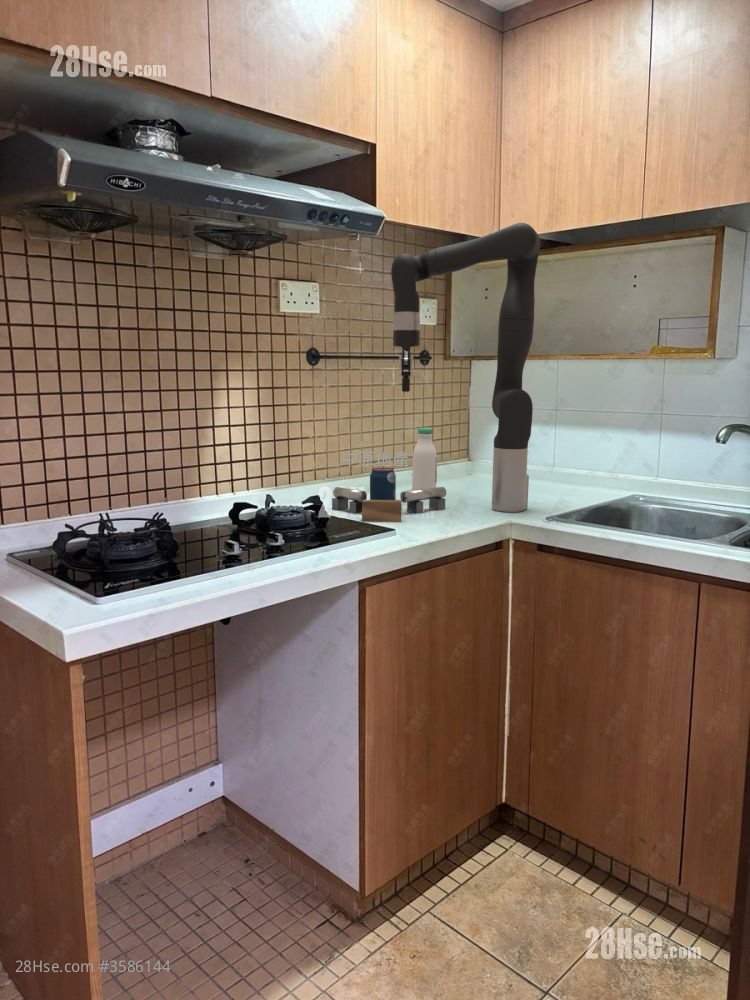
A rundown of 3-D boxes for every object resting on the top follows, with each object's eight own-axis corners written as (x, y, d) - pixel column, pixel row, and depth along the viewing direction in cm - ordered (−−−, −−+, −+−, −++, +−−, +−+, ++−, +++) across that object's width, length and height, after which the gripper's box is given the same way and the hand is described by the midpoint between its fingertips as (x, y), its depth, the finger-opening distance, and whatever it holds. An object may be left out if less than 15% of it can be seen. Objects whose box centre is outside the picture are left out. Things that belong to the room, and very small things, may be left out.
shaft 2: (437, 506, 202) (437, 485, 201) (447, 509, 199) (447, 487, 198) (399, 512, 194) (399, 490, 193) (408, 514, 191) (408, 492, 190)
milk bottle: (433, 493, 225) (434, 429, 221) (409, 491, 227) (410, 428, 224) (438, 489, 232) (439, 427, 229) (415, 488, 235) (416, 427, 231)
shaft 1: (368, 512, 194) (368, 490, 193) (357, 514, 191) (357, 491, 190) (342, 507, 201) (342, 486, 200) (332, 509, 198) (331, 487, 197)
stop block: (362, 518, 185) (362, 499, 184) (401, 519, 185) (401, 500, 184) (361, 521, 182) (362, 501, 181) (401, 521, 182) (401, 502, 181)
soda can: (400, 513, 192) (400, 469, 190) (378, 516, 188) (378, 471, 186) (387, 509, 198) (387, 466, 196) (365, 511, 194) (365, 468, 192)
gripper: (420, 327, 194) (419, 392, 197) (419, 330, 207) (418, 391, 210) (392, 327, 195) (392, 392, 198) (393, 330, 208) (393, 391, 211)
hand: (405, 391), depth 204 cm, fingers closed
